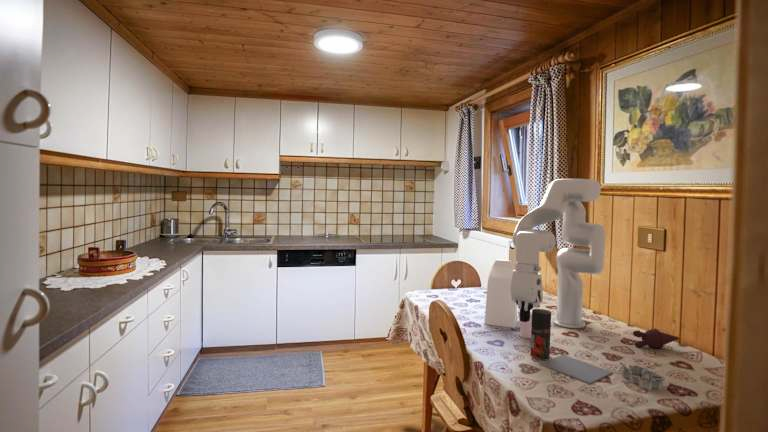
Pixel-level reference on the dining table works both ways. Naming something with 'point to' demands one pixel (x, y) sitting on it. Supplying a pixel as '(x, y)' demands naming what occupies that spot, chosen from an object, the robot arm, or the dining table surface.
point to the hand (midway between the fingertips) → (524, 320)
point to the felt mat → (576, 369)
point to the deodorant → (540, 334)
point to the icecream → (653, 338)
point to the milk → (500, 296)
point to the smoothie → (525, 326)
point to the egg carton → (643, 376)
